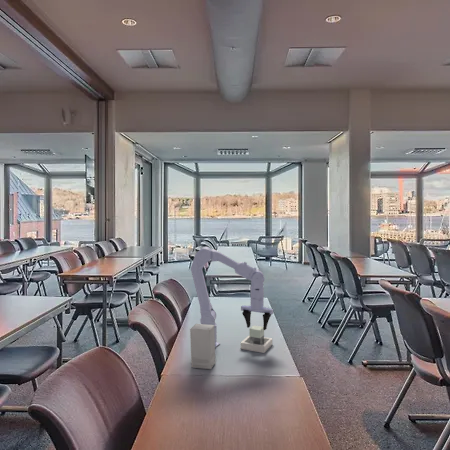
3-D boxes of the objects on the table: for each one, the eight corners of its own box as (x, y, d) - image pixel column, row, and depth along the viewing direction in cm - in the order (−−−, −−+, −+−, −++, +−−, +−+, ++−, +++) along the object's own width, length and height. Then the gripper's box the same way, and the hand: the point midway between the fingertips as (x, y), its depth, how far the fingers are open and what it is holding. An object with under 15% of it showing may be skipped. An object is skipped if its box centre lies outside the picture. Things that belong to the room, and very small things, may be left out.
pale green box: (260, 338, 164) (260, 330, 163) (249, 336, 166) (249, 328, 166) (264, 334, 168) (264, 327, 168) (253, 333, 170) (253, 325, 170)
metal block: (260, 348, 164) (260, 338, 164) (249, 346, 166) (249, 336, 166) (264, 344, 168) (264, 334, 168) (253, 342, 171) (253, 333, 170)
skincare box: (215, 363, 149) (215, 324, 148) (210, 370, 143) (210, 329, 142) (195, 361, 151) (195, 322, 151) (189, 367, 145) (189, 327, 144)
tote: (264, 353, 160) (264, 346, 160) (240, 348, 165) (240, 342, 164) (272, 344, 170) (272, 338, 170) (249, 340, 175) (249, 334, 174)
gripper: (275, 297, 167) (275, 327, 167) (245, 294, 173) (244, 323, 174) (270, 301, 160) (270, 332, 161) (239, 297, 167) (239, 327, 167)
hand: (256, 328), depth 167 cm, fingers open, 7 cm apart
